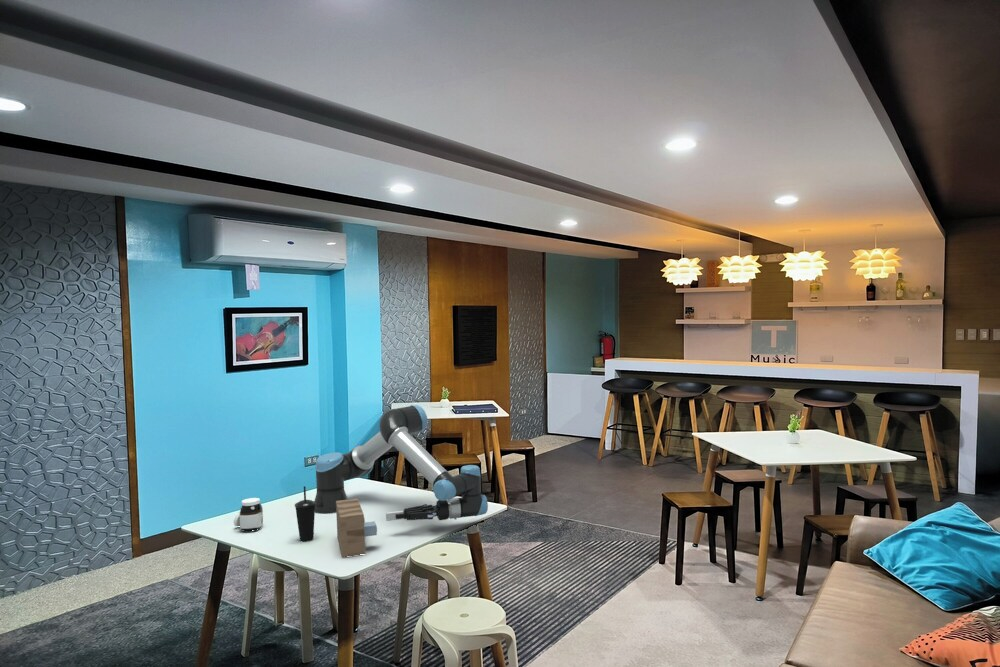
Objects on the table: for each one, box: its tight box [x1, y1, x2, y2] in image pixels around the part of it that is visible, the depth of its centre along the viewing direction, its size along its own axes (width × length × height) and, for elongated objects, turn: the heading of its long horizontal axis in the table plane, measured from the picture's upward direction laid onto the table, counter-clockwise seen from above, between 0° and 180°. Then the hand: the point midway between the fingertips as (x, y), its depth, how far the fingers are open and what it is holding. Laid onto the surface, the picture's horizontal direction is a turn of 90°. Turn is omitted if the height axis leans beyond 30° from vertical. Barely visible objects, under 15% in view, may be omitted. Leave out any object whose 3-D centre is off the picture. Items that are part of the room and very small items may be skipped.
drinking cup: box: [294, 486, 316, 543], centre depth 239 cm, size 8×8×20 cm
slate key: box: [364, 520, 378, 538], centre depth 227 cm, size 5×6×4 cm
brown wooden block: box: [335, 498, 366, 558], centre depth 230 cm, size 22×8×14 cm, turn 18°
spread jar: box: [233, 497, 264, 532], centre depth 255 cm, size 12×11×12 cm
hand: (386, 516), depth 240 cm, fingers closed
